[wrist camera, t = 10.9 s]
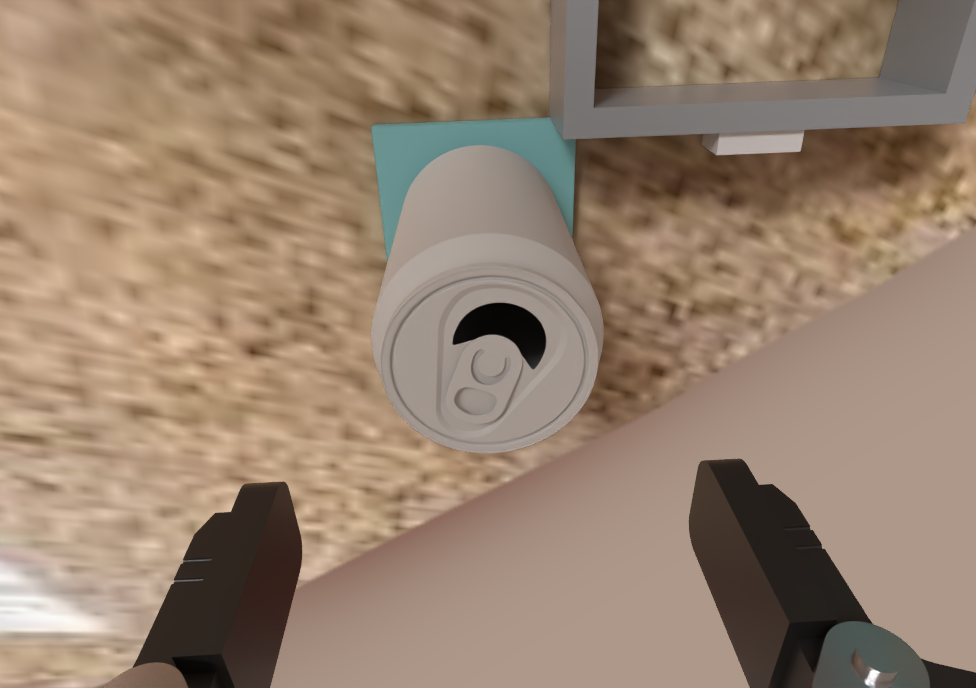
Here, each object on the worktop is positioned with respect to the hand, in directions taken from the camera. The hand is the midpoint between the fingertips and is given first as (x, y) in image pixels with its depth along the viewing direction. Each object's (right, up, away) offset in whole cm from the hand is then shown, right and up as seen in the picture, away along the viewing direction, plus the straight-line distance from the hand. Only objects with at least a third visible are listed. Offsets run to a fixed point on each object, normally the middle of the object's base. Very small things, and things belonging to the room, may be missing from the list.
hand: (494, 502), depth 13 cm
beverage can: (-1, +8, +14) cm, 17 cm away
